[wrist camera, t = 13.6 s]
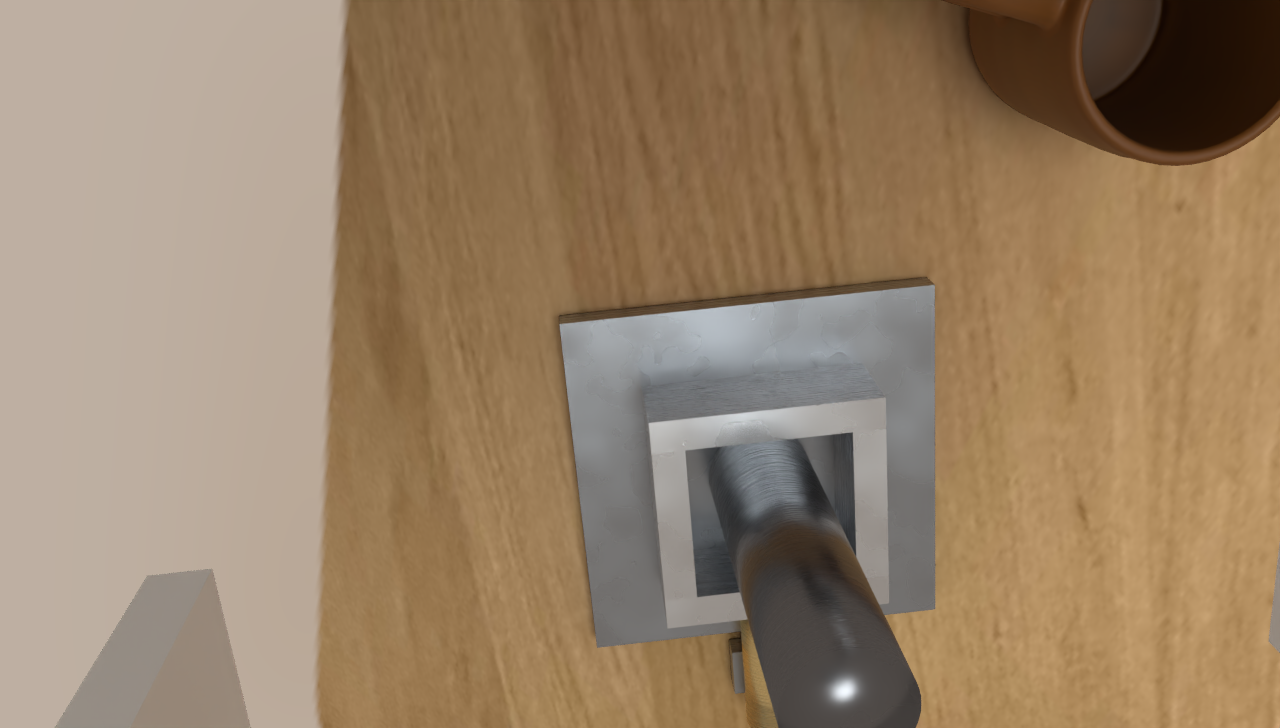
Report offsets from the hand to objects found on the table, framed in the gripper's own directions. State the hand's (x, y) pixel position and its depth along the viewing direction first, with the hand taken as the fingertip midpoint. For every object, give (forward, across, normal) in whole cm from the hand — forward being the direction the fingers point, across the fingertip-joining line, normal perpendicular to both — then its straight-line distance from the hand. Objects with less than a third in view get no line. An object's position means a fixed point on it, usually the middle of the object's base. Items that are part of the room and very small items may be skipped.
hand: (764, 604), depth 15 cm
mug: (+31, +14, +4) cm, 34 cm away
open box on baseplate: (+31, +4, -15) cm, 34 cm away
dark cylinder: (+30, +4, -13) cm, 33 cm away
